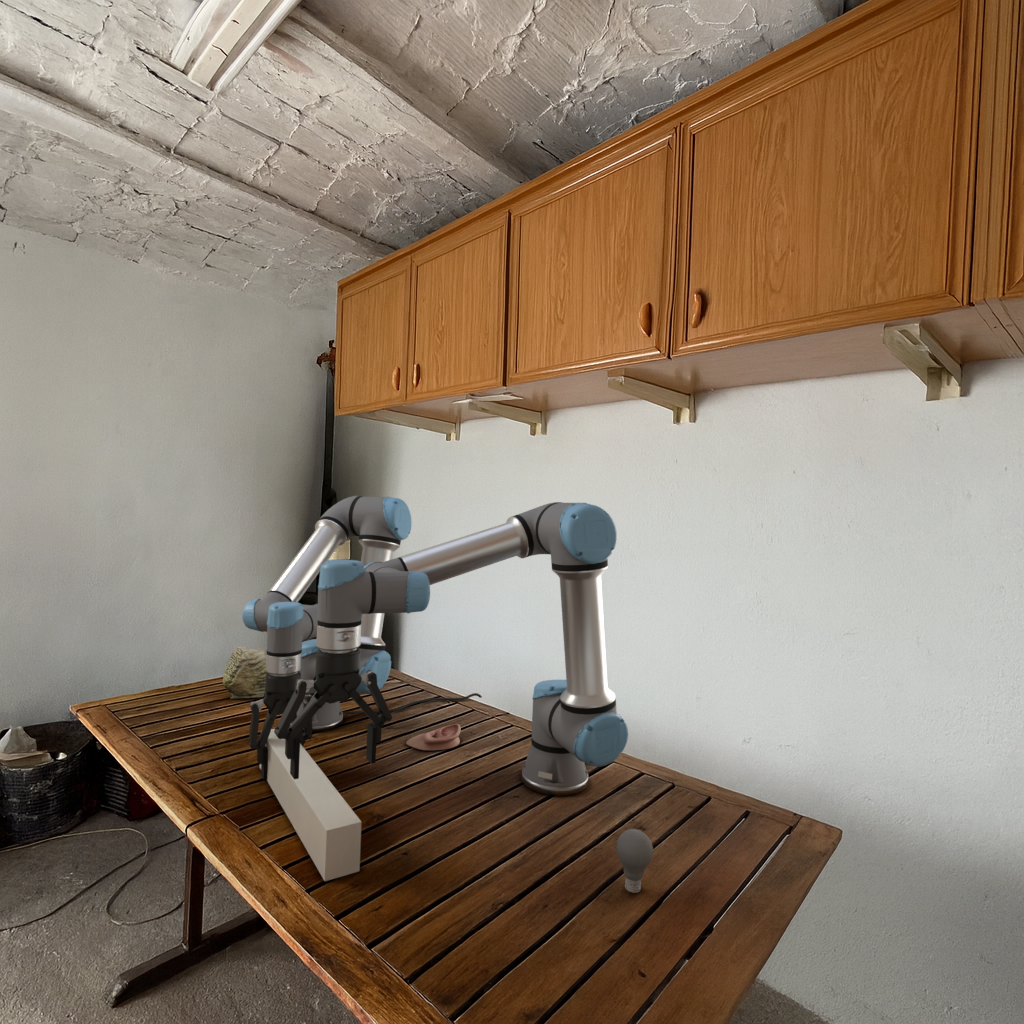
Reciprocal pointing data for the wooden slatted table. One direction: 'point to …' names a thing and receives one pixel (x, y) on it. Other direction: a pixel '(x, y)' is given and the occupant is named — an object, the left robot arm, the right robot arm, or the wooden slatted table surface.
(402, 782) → the wooden slatted table surface
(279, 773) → the post
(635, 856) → the light bulb
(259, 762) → the left robot arm
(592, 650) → the right robot arm
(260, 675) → the fossil
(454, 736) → the anatomical model
